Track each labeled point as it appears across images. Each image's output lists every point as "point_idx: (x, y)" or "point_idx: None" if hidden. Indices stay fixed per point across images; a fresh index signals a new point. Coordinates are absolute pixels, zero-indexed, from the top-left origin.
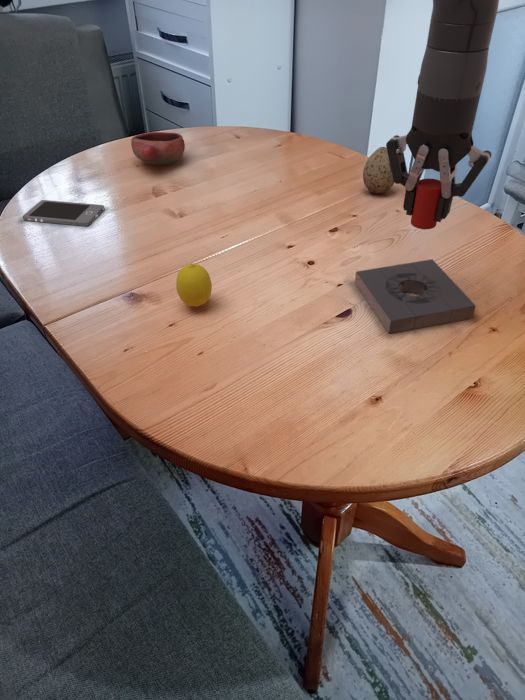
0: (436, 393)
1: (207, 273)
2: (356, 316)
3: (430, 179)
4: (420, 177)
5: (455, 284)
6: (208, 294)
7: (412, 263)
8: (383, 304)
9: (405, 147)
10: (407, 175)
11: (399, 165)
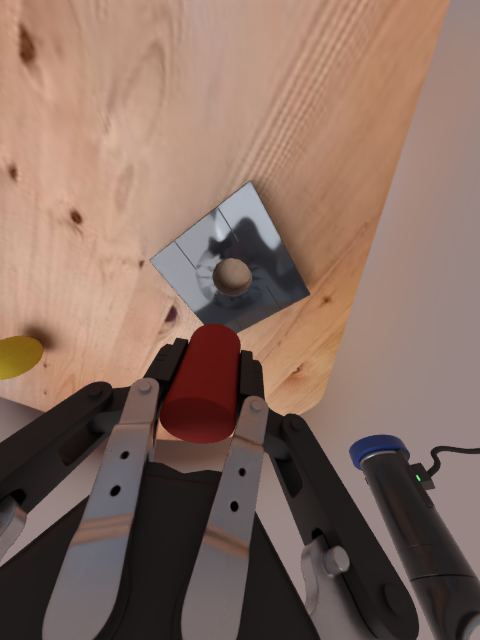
0: (268, 382)
1: (9, 361)
2: (183, 316)
3: (189, 403)
4: (156, 407)
5: (287, 253)
6: (37, 356)
7: (220, 209)
8: (205, 319)
9: (3, 535)
10: (116, 419)
11: (69, 471)
